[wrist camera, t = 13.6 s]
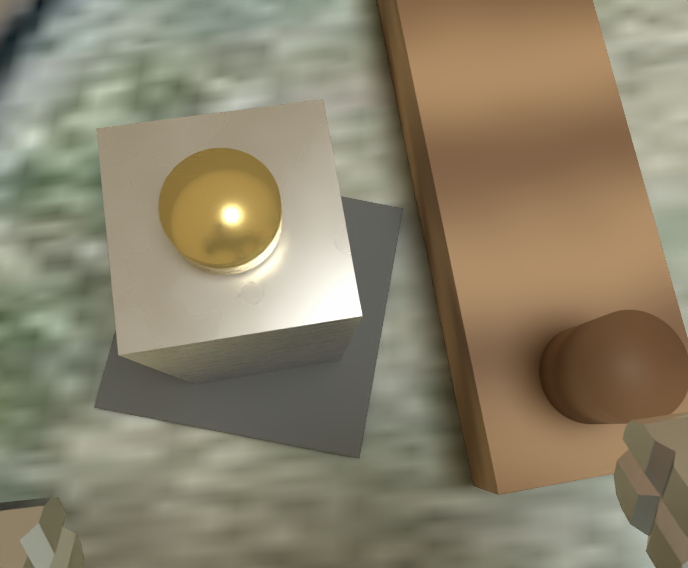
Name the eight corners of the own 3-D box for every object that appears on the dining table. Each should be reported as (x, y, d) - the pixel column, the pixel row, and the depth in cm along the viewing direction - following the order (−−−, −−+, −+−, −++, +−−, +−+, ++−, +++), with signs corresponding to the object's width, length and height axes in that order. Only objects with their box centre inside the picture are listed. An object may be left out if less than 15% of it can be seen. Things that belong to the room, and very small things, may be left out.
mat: (358, 457, 22) (359, 458, 21) (98, 407, 22) (94, 407, 21) (401, 212, 24) (403, 208, 23) (163, 165, 24) (161, 161, 23)
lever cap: (341, 360, 22) (366, 307, 12) (195, 384, 22) (102, 349, 12) (317, 224, 23) (324, 75, 13) (179, 244, 23) (80, 105, 13)
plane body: (666, 450, 22) (793, 458, 16) (473, 485, 22) (533, 506, 16) (536, -39, 26) (601, -171, 21) (372, -21, 26) (390, -152, 20)
